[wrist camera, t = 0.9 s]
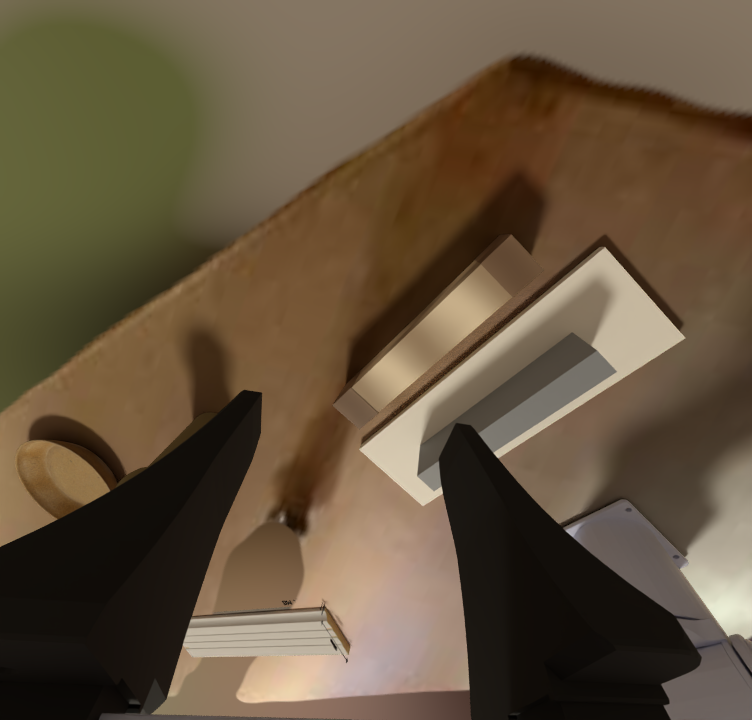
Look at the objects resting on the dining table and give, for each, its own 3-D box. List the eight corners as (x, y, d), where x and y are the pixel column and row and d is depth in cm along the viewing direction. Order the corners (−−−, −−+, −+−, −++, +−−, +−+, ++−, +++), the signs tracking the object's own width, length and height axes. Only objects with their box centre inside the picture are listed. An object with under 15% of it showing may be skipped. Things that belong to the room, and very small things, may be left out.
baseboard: (166, 608, 53) (198, 647, 55) (152, 628, 50) (186, 667, 53) (322, 596, 43) (351, 642, 46) (315, 619, 41) (346, 667, 44)
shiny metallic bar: (500, 234, 23) (511, 234, 20) (528, 264, 24) (544, 270, 20) (345, 384, 30) (332, 405, 26) (369, 405, 31) (359, 429, 27)
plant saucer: (19, 454, 44) (-5, 466, 42) (70, 410, 39) (45, 422, 37) (97, 528, 47) (79, 543, 45) (153, 496, 42) (136, 512, 40)
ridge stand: (677, 334, 23) (735, 358, 19) (423, 500, 33) (420, 542, 29) (599, 246, 22) (640, 249, 18) (361, 444, 32) (347, 479, 28)
